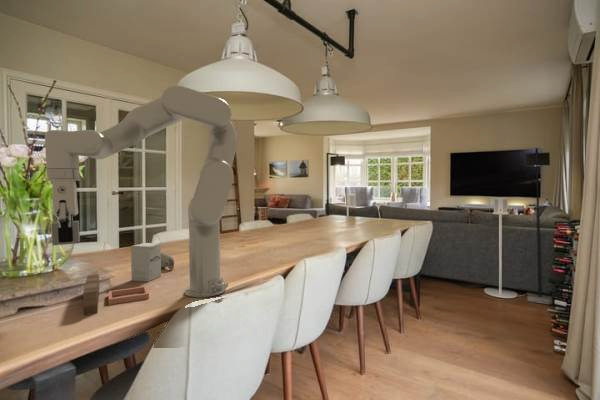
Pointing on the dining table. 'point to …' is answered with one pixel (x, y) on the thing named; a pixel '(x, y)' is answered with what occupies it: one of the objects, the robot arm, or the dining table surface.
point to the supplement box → (146, 261)
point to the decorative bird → (167, 261)
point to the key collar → (128, 298)
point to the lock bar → (74, 229)
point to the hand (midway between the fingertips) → (66, 240)
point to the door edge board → (91, 294)
